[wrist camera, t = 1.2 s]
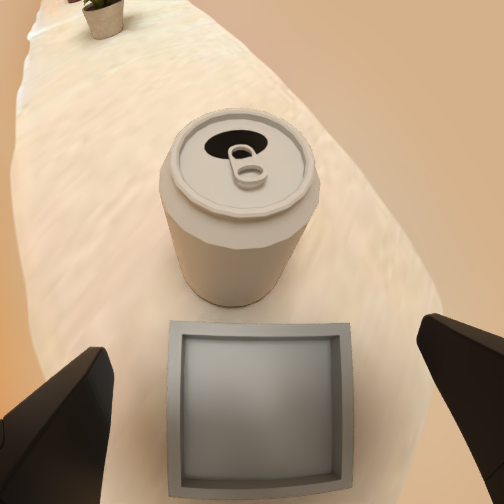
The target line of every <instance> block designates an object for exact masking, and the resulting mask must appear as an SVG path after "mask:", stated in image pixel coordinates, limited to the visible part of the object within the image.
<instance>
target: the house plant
mask: <svg viewBox="0 0 504 504" xmlns="http://www.w3.org/2000/svg"><path fill="white" fill-rule="evenodd" d="M88 1H89V0H84V5H85V3H87V2H88ZM90 1H91V2H92V3H90V4H88V5H86V6H85V7H84V8H83V9H82V11H83V13H84V16H85V18H86V20H87V23H88V25H89V27H90V30H91V32H92V34H93V36H94V38H95V39H105V38H109V37H111V36H114V35H116V34H118V33H119V32H121V30H122V23H123V6H124V0H90Z"/></svg>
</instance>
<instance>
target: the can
mask: <svg viewBox="0 0 504 504" xmlns="http://www.w3.org/2000/svg"><path fill="white" fill-rule="evenodd" d="M319 191H320V181H319V178H318V174H317V171H316V168H315V159H314V156H313V153H312V150H311V147H310V145H309V144H308V142H307V141H306V139H305V138H304V137H303V136H302V134H301V133H300V132H299V131H298V130H297V129H296V128H294V127H293V126H292V125H290V124H289V123H288V122H286V121H285V120H283V119H281V118H279V117H277V116H274V115H272V114H270V113H267V112H264V111H259V110H254V109H248V108H227V109H222V110H218V111H214V112H210V113H207V114H205V115H203V116H201V117H199V118H197V119H195V120H193V121H191V122H190V123H189V124H188V125H187V126H186V127H185V128H184V129H182V130H181V131H180V132H179V133H178V134H177V136H176V138H175V140H174V142H173V144H172V146H171V148H170V151H169V152H168V154H167V157H166V159H165V161H164V163H163V165H162V167H161V169H160V182H159V192H160V196H161V200H162V204H163V207H164V211H165V215H166V218H167V222H168V226H169V229H170V233H171V236H172V240H173V243H174V247H175V250H176V253H177V257H178V260H179V264H180V267H181V270H182V272H183V275H184V277H185V280H186V282H187V283H188V284H189V286H190V287H191V288H192V289H193V290H194V291H195V293H196V294H197V295H199V296H201V297H202V298H204V299H206V300H207V301H209V302H211V303H213V304H218V305H222V306H227V307H234V306H245V305H248V304H250V303H253V302H255V301H257V300H260V299H262V298H263V297H264V296H265V295H266V294H267V293H268V292H269V291H271V290H272V289H273V288H274V286H275V284H276V282H277V280H278V279H279V277H280V275H281V273H282V271H283V269H284V268H285V266H286V264H287V262H288V260H289V258H290V256H291V254H292V253H293V251H294V249H295V247H296V245H297V243H298V241H299V239H300V237H301V236H302V234H303V232H304V230H305V228H306V226H307V224H308V222H309V220H310V218H311V216H312V214H313V212H314V211H315V209H316V207H317V205H318V202H319Z"/></svg>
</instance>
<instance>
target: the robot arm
mask: <svg viewBox="0 0 504 504" xmlns="http://www.w3.org/2000/svg"><path fill="white" fill-rule="evenodd" d="M417 345H418V347H419V350H420V352H421V354H422V356H423V358H424V360H425V362H426V365H427V367H428V369H429V371H430V374H431V376H432V378H433V380H434V382H435V384H436V386H437V388H438V390H439V392H440V393H441V395H442V397H443V399H444V401H445V402H446V404H447V406H448V408H449V410H450V411H451V414H452V416H453V417H454V419H455V421H456V423H457V425H458V427H459V429H460V431H461V433H462V435H463V437H464V439H465V441H466V443H467V445H468V447H469V449H470V451H471V453H472V456H473V458H474V460H475V462H476V464H477V466H478V468H479V471H480V473H481V475H482V478H483V480H484V481H485V484H486V487H487V490H488V492H489V494H490V497H491V499H492V502H493V504H504V338H502V337H500V336H497V335H494V334H491V333H489V332H486V331H483V330H481V329H478V328H475V327H472V326H470V325H467V324H464V323H461V322H459V321H456V320H453V319H451V318H447V317H445V316H442V315H440V314H437V313H433V314H428V315H425V316H424V317H423V319H422V322H421V325H420V328H419V331H418V335H417ZM113 386H114V372H113V368H112V365H111V363H110V360H109V357H108V354H107V351H106V349H105V348H103V347H89V348H88V349H87V350H85V351H84V352H83V353H81V354H80V355H79V356H78V357H76V358H75V359H74V360H73V361H71V362H70V363H69V364H68V365H66V366H65V367H64V368H63V369H61V370H60V371H59V372H58V373H56V374H55V375H54V376H53V377H52V378H50V379H49V380H48V381H47V382H45V383H44V384H43V385H42V386H41V387H39V388H38V389H37V390H36V391H34V392H33V393H32V394H31V395H30V396H28V397H27V398H26V399H25V400H23V401H22V402H21V403H20V404H19V405H17V406H16V407H15V408H14V409H13V410H11V411H10V412H9V413H8V414H6V415H5V416H4V417H3V419H0V504H100V497H101V488H102V480H103V472H104V465H105V458H106V452H107V445H108V439H109V433H110V426H111V412H112V398H113Z"/></svg>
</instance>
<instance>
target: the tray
mask: <svg viewBox="0 0 504 504" xmlns="http://www.w3.org/2000/svg"><path fill="white" fill-rule="evenodd" d="M353 455H354V394H353V366H352V347H351V332H350V323H330V324H236V323H206V322H185V321H170V329H169V348H168V373H167V467H168V490H169V497H179V498H192V499H210V500H254V499H273V498H285V497H295V496H304V495H312V494H319V493H325V492H331V491H337V490H342V489H347V488H352V481H353Z"/></svg>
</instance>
